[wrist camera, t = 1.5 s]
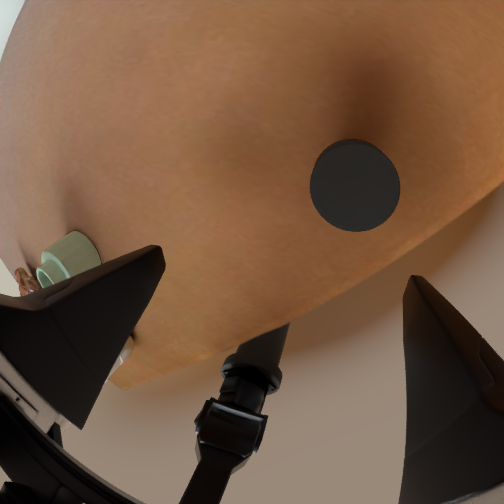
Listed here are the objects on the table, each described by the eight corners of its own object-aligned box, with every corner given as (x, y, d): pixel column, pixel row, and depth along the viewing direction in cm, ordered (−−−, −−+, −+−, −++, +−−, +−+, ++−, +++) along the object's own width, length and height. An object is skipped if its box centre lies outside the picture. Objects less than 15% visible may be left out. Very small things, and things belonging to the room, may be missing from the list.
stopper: (396, 185, 17) (413, 210, 13) (337, 213, 20) (336, 245, 16) (363, 121, 16) (374, 127, 12) (301, 154, 18) (292, 170, 14)
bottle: (108, 265, 31) (71, 300, 25) (90, 281, 35) (58, 312, 29) (77, 221, 29) (35, 251, 23) (63, 244, 33) (28, 271, 27)
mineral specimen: (25, 288, 45) (6, 293, 38) (33, 261, 44) (13, 264, 38) (56, 321, 45) (37, 330, 39) (65, 294, 45) (46, 301, 38)
